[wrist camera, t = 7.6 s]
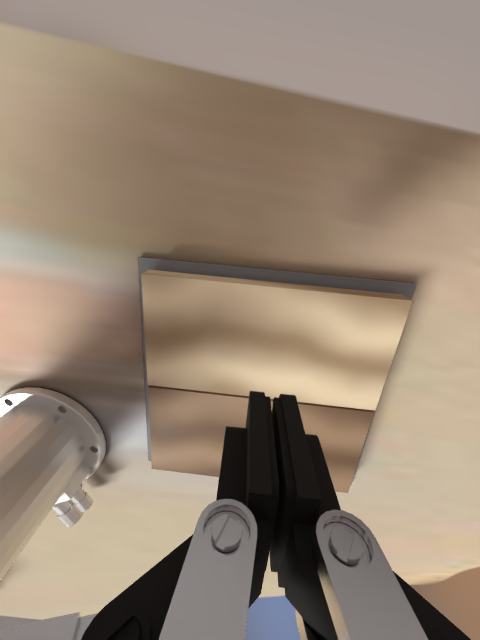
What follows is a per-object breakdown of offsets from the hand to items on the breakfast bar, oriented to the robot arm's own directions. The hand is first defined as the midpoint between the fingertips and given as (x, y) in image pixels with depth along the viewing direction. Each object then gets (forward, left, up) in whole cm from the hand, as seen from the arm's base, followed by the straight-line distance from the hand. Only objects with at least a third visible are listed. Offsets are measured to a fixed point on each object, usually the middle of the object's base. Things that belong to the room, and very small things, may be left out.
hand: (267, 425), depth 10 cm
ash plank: (-2, +1, -13) cm, 14 cm away
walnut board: (-11, +6, -14) cm, 19 cm away
